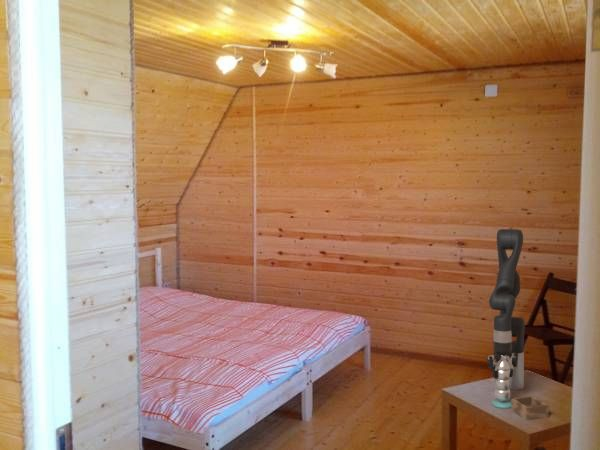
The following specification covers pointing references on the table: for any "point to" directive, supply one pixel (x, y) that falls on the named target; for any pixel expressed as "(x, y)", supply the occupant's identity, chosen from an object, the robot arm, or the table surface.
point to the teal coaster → (501, 403)
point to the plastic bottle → (503, 380)
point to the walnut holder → (529, 408)
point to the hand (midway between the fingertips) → (502, 377)
